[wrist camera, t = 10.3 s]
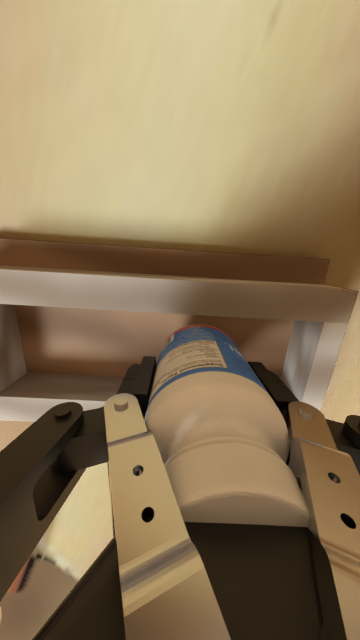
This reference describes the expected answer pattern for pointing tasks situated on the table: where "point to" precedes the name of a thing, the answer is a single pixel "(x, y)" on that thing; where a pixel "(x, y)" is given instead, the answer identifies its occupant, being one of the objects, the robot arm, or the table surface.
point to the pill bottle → (221, 434)
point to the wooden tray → (155, 317)
